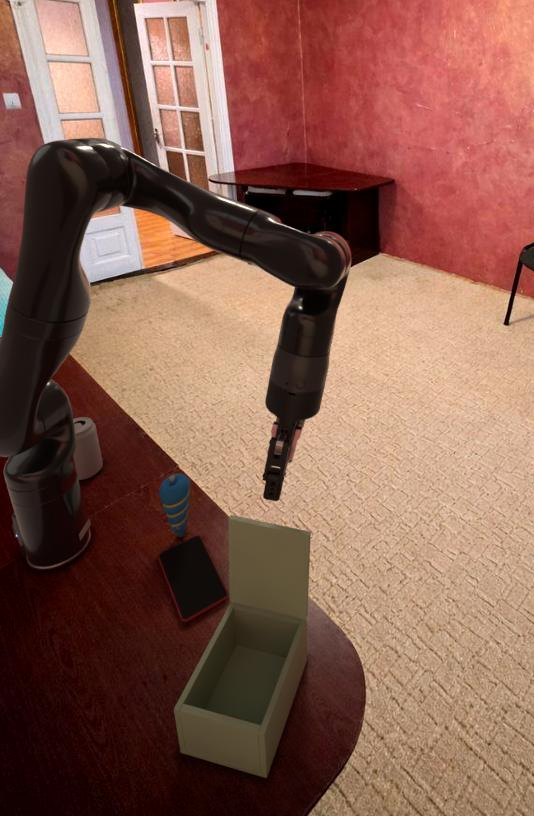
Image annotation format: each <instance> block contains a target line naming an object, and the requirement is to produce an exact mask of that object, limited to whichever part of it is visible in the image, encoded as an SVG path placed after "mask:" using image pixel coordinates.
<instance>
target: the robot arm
mask: <svg viewBox="0 0 534 816" xmlns="http://www.w3.org/2000/svg"><path fill="white" fill-rule="evenodd" d="M25 178H26V179H25V187H24V202H23V217H22V229H21V230H22V231H21V237H20V238H21V239H20V240H21V241H20V243H19V244H20V245H19V250H18V255H17V260H16V267H15V272H14V276H13V282H12V285H11V288H10V292H9V295H8V300H7V305H6V309H5V315H4V321H3V326H2V333H1V336H0V457H3V458H7V457H8V459H7V460H6V462H5V464H4V467H3V476H4V480H5V481H4V482H5V484H6V488H7V491H8V494H9V499H10V501H11V506H12V509H13V513H12V515H11V520H12V524H11V528H12V531H13V534H14V538H15V539H17V540H18V545H19V547H20V552H21V555H22V557H23V558H25V559H26V562H27V564H28V567H30V568H31V569H32V570H34V571H38V572H50V571H54V570H57V569H60V568H63V567H65V566H67V565H69V564H71V563H72V562H74V561H76V560H77V559H78V558H79V557H80V556H81V555H83V553H84V552H85V551H86V550H87V548H88V547H89V546H90V543H91V540H92V533H91V529H90V527H91V526H92V524H91V518H90V517H89V518H87V513H86V508H85V503H84V499H83V494H82V489H81V486H80V480H78V475H77V471H76V466H75V461H74V456H73V455H74V452H75V448H76V436H75V428H74V421H73V419H74V414H73V409H72V404H71V401H70V399H69V396H68V394H67V392H66V390H64V388H63V387H62V386H61V385H60V384H59V383H58V382H57V381H55V380H53V379H52V378H53V377H54V375H55V374H56V373H57V372H58V370H59V369H60V368H61V366H62V365H63V363H64V362H65V361H66V359H67V357H68V356H69V355H70V354H71V352H72V350H73V349H74V347H76V345H77V343H78V340H79V339H80V337H81V335H82V332H83V330H84V327H85V324H86V321H87V317H88V313H89V310H90V307H91V303H92V288H91V285H90V281H89V279H88V277H87V274H86V272H85V269H84V268H83V265H82V261H81V252H82V246H83V243H84V239H85V236H86V232H87V229H88V227H89V225H90V223H91V220H92V218H93V217H94V216H95V214H98V213H102V212H105V211H108V210H112V209H115V208H118V207H124V208H130V209H134V210H140V211H144V212H148V213H151V214H153V215H156V216H159V217H161V218H163V219H165V220H167V221H169V222H170V223H172V224H173V225H174V226H176V227H177V228H178V229H179V230H181V231H182V232H183V233H185V235H187V236H188V237H190V238H191V239H193V240H194V241H195V242H196V243H199V244H200V245H202V246H203V247H206V248H208V249H209V250H212V251H215V252H216V253H219V254H222V255H225V256H228V257H231V258H233V259H236V260H238V261H241V262H244V263H247V264H251V265H254V266H256V267H258V268H259V269H261V270H262V271H264V272H265V273H267V274H269V275H271V276H272V277H274V278H275V279H278V280H279V281H281V282H283V283H284V284H286V285H289V286H290V287H293V288H294V289H293V293H292V296H291V298H290V300H289V302H288V303H287V305H286V307H285V308H284V311H283V314H282V319H281V323H280V328H279V333H278V340H277V344H276V348H275V351H274V353H273V357H272V362H271V365H270V366H271V367H270V373H269V378H268V383H267V389H266V393H265V395H266V396H265V400H264V403H265V407H266V409H267V410H268V411H269V412H270V414H272V415H274V416H275V417H276V418H275V420H274V421H273V423H272V428H271V430H270V433H271V437H270V439H269V441H268V444H269V445H268V448H267V451H266V454H267V456H266V460H265V466H264V470H263V473H262V481H264V482H265V483H264V484H265V485H264V488H263V494H262V497H263V499H264V500H265V501H266V500H267V501H272V502H279V500H280V498H281V495H282V489H283V485H284V481H285V477H286V476H287V469H288V465H289V464H290V463H292V462H293V459H294V456H295V452H296V448H297V445H298V440H300V438H301V435H302V433H303V432H302V431H303V428H304V427H305V423H306V420H309V419H312V418H314V417H315V416H316V415H318V414H319V412H320V410H321V405H322V400H323V397H324V391H325V387H326V382H327V377H328V372H329V367H330V356H331V355H330V353H331V349H332V343H333V339H334V333H335V329H336V323H337V322H336V321H337V316H338V311H339V308H340V305H341V302H342V299H343V296H344V292H345V289H346V286H347V283H348V278H349V275H350V271H351V265H352V251H351V248H350V246H349V244H348V242H347V241H346V240H345V238H344V237H343V236H341V235H340V234H338V233H336V232H333V231H329V230H323V231H317V232H315V233H311V234H310V233H307V232H304V231H302V230H300V229H297V228H295V227H292V226H289V225H287V224H285V223H283V222H282V220H281V218H279V217H278V216H277V215H274V214H272V213H270V212H268V211H265V210H264V209H260V208H258V207H255V206H252V205H249V204H247V203H244V202H242V201H238V200H235V199H233V198H230V197H228V196H224V195H222V194H219V193H217V192H214V191H212V190H209V189H206V188H205V187H201V186H199V185H197V184H195V183H193V182H190V181H188V180H187V179H184V178H182V177H180V176H178V175H176V174H174V173H171V172H170V171H168V170H166V169H164V168H162V167H160V166H158V165H156V164H154V163H152V162H151V161H150V160H147V159H146V158H144V157H143V156H141V155H139V154H137V153H135V152H133V151H132V150H131V149H128V148H126V147H124V146H123V145H120V144H118V143H116V142H114V141H111V140H109V139H107V138H101V137H83V138H81V137H80V138H70V139H58V140H53V141H48V142H46V143H44V144H42V145H41V146H40V147H38V148H37V149H36V150H35V151H34V153H33V154H32V156H31V158H30V161H29V164H28V166H27V171H26V177H25Z"/></svg>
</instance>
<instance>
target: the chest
mask: <svg viewBox="0 0 534 816" xmlns="http://www.w3.org/2000/svg"><path fill="white" fill-rule="evenodd" d="M307 621H308V620H307V618H306V619H301V618H297V617H293V616H289V615H285V614H281V613H276V612H272V611H268V610H264V609H260V608H256V607H251V606H247V605H243V604H239V603H235V602H231V601H230V603H229V605H228V607H227V608H226V611H225V612H224V614H223V616H222V617H221V619H220V622H219V624H218V625H217V627H216V629H215V631H214V633H213V635H212V637H211V639H210V641H208V644H207V646H206V648H205V650H204V652H203V654H202V655H201V657H200V659H199V661H198V663H197V664H196V667H195V668H194V670H193V672H192V674H191V676H190V677H189V680H188V682H187V684H186V686H185V687H184V689H183V691H182V693H181V695H180V697H179V698H178V701H176V704H175V706H174V708H173V715H174V720H175V727H176V732H177V733H176V734H177V738H178V745H179V752H180V753H181V754H183V755H187V756H190V757H194V758H196V759H200V760H203V761H207V762H211V763H214V764H217V765H220V766H224V767H228V768H231V769H233V770H237V771H241V772H244V773H248V774H251V775H254V776H258V777H261V778H264V779H267V778H268V776H269V773H270V771H271V767H272V764H273V761H274V758H275V755H276V753H277V750H278V747H279V744H280V741H281V738H282V735H283V732H284V729H285V726H286V723H287V720H288V717H289V715H290V711H291V708H292V706H293V703H294V701H295V696H296V694H297V691H298V688H299V685H300V683H301V679H302V676H303V673H304V670H305V668H306V665H307V661H308V638H307V637H308V631H307V629H308V626H307V623H308V622H307Z"/></svg>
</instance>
